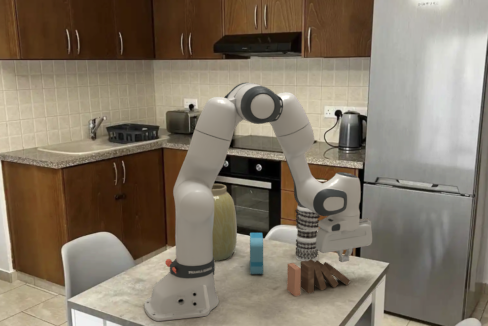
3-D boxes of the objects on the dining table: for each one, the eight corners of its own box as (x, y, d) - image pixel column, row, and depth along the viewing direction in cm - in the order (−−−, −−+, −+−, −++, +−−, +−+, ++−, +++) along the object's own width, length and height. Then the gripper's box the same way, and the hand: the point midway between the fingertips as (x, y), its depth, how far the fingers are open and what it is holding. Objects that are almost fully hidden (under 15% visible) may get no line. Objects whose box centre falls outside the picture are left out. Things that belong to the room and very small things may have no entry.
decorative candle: (292, 260, 184) (293, 195, 179) (297, 251, 193) (298, 189, 188) (316, 263, 182) (318, 197, 177) (320, 254, 190) (322, 191, 185)
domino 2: (308, 293, 158) (308, 267, 156) (300, 287, 162) (300, 261, 160) (313, 292, 158) (314, 266, 156) (305, 286, 163) (305, 260, 161)
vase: (188, 249, 196) (186, 183, 191) (229, 244, 201) (229, 180, 196) (197, 265, 180) (195, 193, 175) (242, 260, 185) (242, 190, 180)
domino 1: (294, 296, 156) (295, 269, 154) (287, 289, 160) (287, 263, 158) (300, 295, 156) (300, 268, 155) (292, 288, 161) (293, 262, 159)
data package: (263, 275, 171) (263, 242, 169) (250, 275, 171) (250, 242, 169) (262, 262, 183) (262, 231, 180) (249, 262, 183) (249, 231, 180)
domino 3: (321, 290, 159) (313, 267, 157) (313, 284, 164) (305, 262, 161) (326, 287, 160) (319, 264, 157) (318, 281, 165) (310, 259, 162)
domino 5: (347, 285, 163) (330, 272, 160) (338, 279, 168) (321, 266, 164) (350, 280, 163) (333, 267, 160) (341, 274, 168) (325, 261, 164)
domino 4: (334, 287, 161) (320, 269, 158) (326, 281, 166) (312, 264, 162) (338, 283, 162) (325, 265, 158) (330, 277, 166) (316, 260, 163)
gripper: (365, 214, 168) (363, 253, 171) (314, 222, 160) (312, 262, 163) (377, 220, 163) (375, 259, 165) (324, 227, 155) (323, 269, 157)
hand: (343, 261), depth 164 cm, fingers closed
